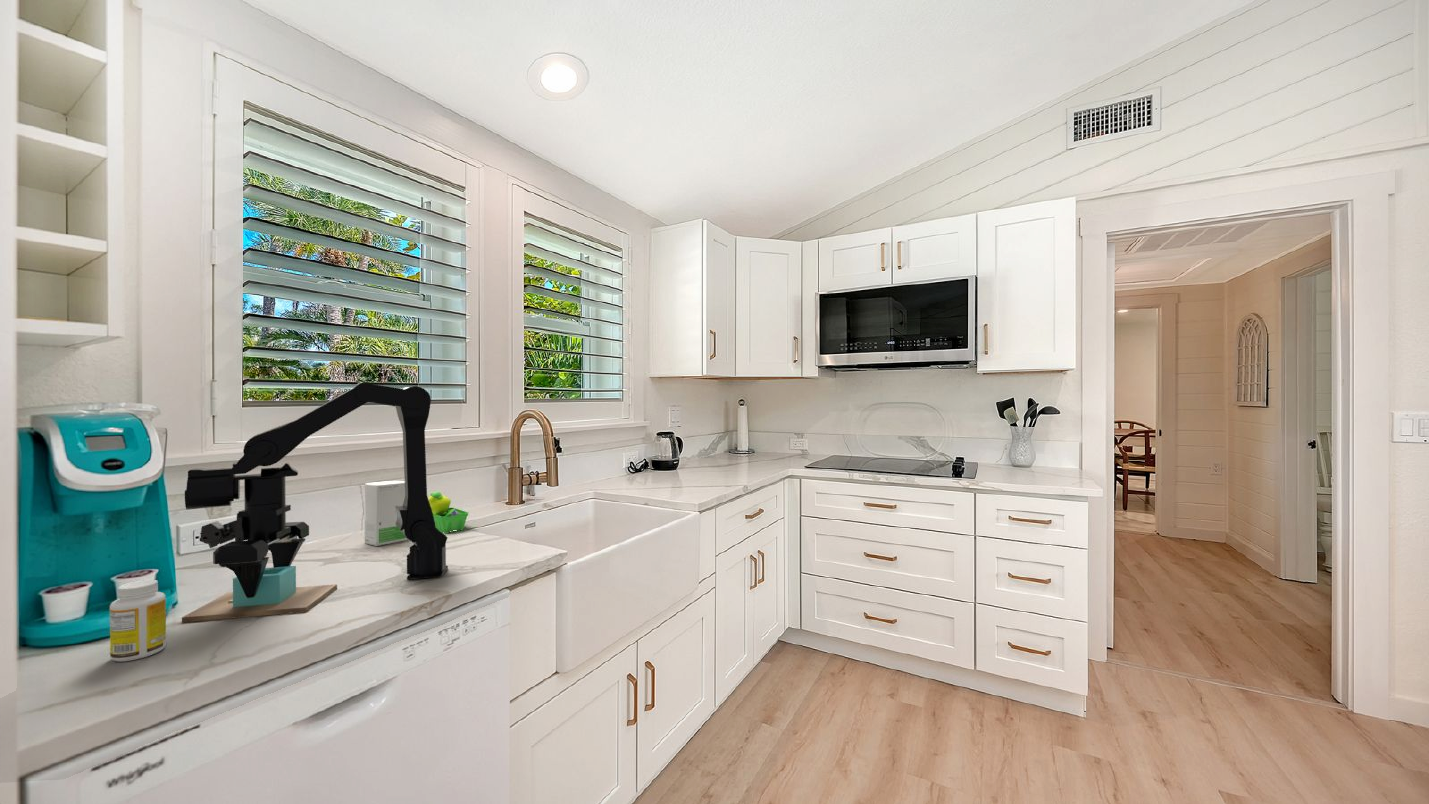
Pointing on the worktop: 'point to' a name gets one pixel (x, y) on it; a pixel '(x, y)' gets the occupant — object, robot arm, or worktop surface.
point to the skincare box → (383, 512)
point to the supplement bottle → (137, 621)
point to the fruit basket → (446, 514)
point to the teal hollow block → (268, 587)
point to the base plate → (293, 604)
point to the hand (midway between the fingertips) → (265, 588)
